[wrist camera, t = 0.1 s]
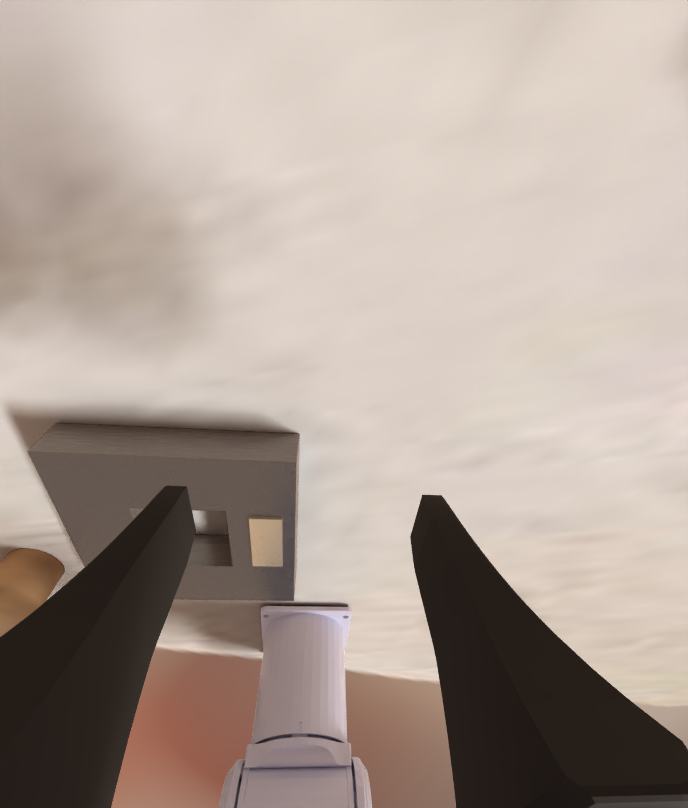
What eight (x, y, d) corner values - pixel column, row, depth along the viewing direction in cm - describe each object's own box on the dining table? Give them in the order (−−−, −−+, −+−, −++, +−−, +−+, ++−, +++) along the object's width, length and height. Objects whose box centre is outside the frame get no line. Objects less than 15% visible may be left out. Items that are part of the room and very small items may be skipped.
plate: (296, 570, 30) (293, 603, 28) (116, 566, 29) (98, 600, 27) (299, 434, 23) (296, 464, 20) (56, 422, 22) (24, 453, 19)
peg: (71, 580, 30) (19, 664, 25) (18, 579, 30) (-44, 664, 25) (54, 549, 28) (-6, 634, 23) (-3, 548, 28) (-76, 634, 23)
